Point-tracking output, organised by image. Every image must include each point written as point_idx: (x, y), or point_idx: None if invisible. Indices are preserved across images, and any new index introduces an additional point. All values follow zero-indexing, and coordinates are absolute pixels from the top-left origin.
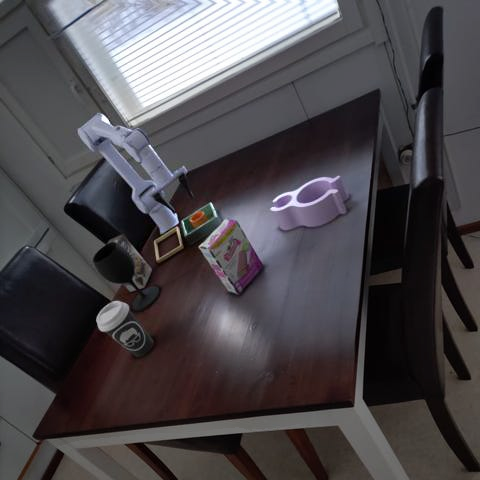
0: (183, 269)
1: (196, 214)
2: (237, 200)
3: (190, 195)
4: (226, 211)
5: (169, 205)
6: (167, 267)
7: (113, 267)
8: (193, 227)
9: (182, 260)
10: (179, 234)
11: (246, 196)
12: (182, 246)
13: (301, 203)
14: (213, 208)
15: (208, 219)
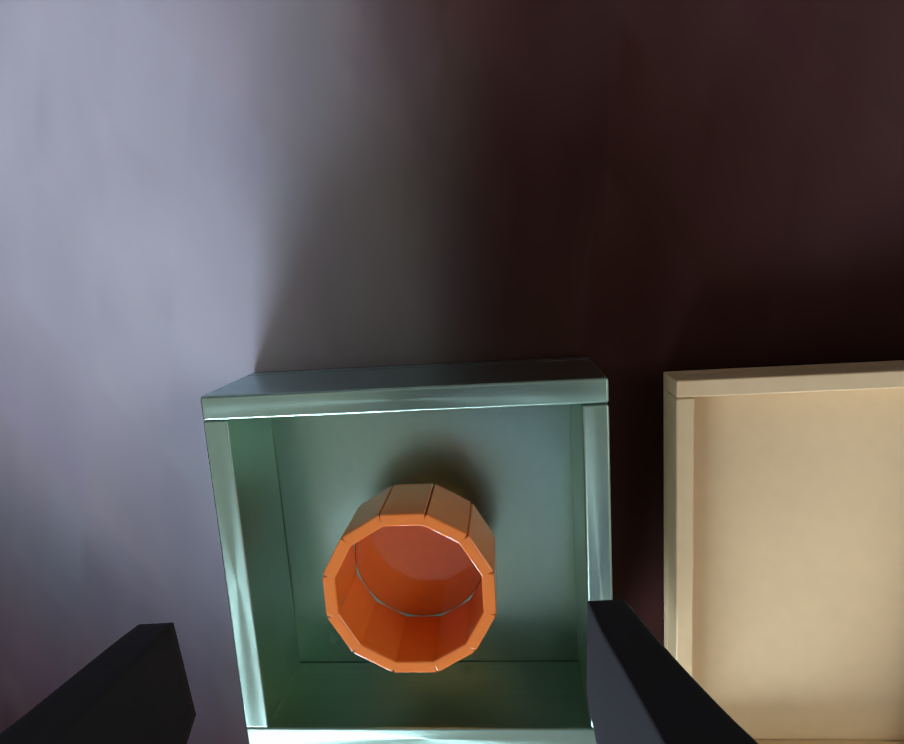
0: (726, 10)
1: (411, 656)
2: (99, 642)
3: (121, 657)
4: (206, 578)
5: (637, 727)
6: (889, 219)
7: None
8: (523, 623)
9: (713, 190)
10: (674, 620)
11: (21, 620)
12: (673, 377)
13: None
14: (229, 597)
15: None
